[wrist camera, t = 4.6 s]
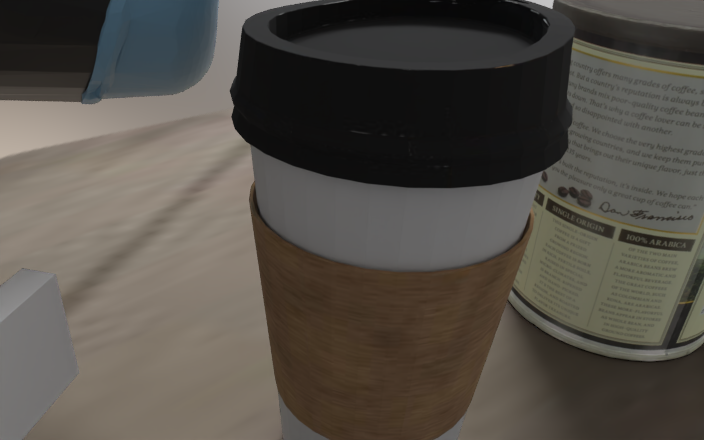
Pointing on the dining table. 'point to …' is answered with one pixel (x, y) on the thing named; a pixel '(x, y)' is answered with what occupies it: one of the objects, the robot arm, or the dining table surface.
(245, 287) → the dining table surface
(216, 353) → the dining table surface
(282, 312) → the coffee cup
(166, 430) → the dining table surface
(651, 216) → the coffee can
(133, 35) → the robot arm
